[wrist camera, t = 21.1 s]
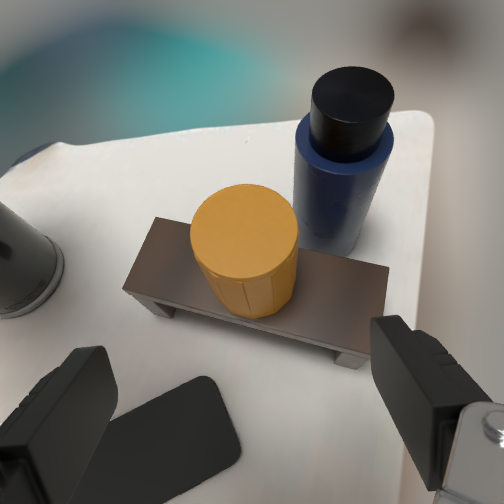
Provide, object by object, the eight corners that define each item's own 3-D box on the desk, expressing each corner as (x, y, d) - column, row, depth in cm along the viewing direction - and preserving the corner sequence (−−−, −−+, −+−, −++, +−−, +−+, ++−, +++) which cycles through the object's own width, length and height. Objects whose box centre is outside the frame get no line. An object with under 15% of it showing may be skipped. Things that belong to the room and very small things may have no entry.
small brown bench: (151, 313, 34) (121, 288, 28) (177, 251, 37) (155, 216, 31) (358, 370, 30) (377, 357, 24) (370, 296, 33) (389, 266, 27)
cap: (198, 279, 28) (168, 229, 21) (255, 229, 29) (245, 167, 22) (252, 335, 25) (240, 301, 18) (311, 278, 27) (321, 226, 20)
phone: (43, 454, 29) (209, 369, 30) (49, 453, 30) (211, 371, 31) (60, 560, 26) (244, 459, 27) (67, 555, 26) (246, 458, 28)
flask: (278, 235, 37) (274, 97, 21) (320, 197, 39) (345, 43, 23) (326, 276, 34) (361, 153, 19) (369, 233, 36) (434, 88, 20)
